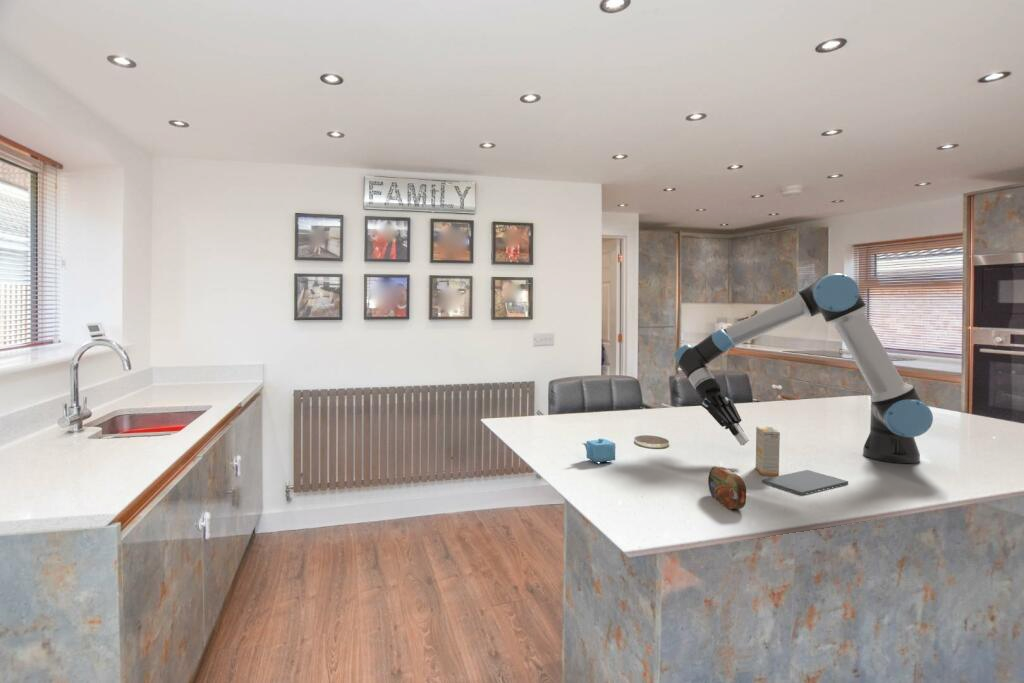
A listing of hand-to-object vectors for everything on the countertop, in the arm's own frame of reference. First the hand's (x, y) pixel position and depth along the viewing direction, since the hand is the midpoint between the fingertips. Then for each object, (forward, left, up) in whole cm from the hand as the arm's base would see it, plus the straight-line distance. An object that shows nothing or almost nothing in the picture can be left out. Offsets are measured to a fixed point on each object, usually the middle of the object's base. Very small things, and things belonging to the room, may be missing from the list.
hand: (745, 442), depth 163 cm
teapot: (+39, -24, -7) cm, 46 cm away
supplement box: (0, +8, -7) cm, 11 cm away
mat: (0, +20, -7) cm, 21 cm away
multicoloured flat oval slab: (+32, +21, -7) cm, 39 cm away
